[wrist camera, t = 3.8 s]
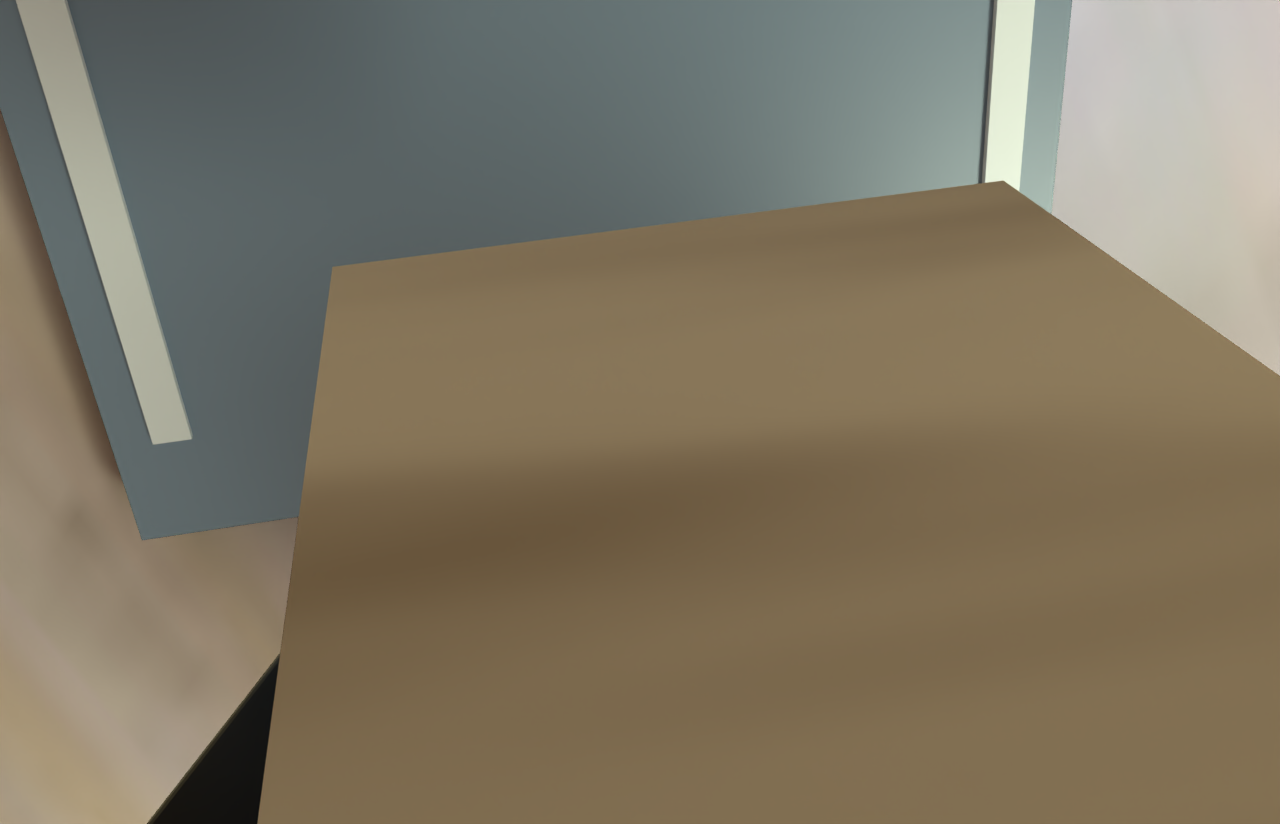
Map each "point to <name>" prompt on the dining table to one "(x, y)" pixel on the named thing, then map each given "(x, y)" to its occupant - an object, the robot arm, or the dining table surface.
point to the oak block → (782, 534)
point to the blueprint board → (445, 168)
